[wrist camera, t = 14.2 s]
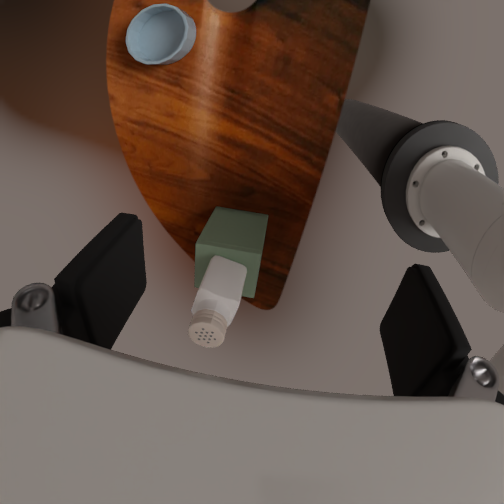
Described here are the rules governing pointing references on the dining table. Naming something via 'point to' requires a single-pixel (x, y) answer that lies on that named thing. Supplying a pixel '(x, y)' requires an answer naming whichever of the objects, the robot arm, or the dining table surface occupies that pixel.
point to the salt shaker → (216, 301)
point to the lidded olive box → (232, 243)
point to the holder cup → (160, 35)
